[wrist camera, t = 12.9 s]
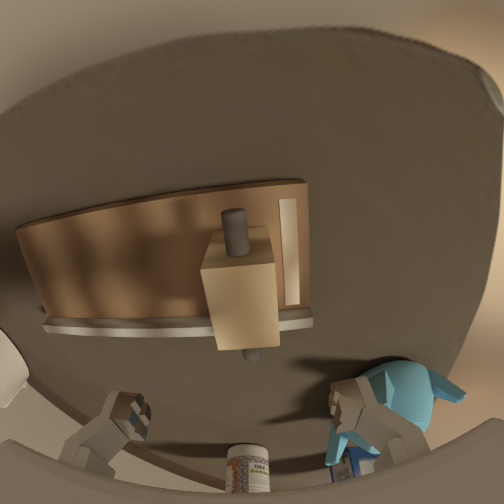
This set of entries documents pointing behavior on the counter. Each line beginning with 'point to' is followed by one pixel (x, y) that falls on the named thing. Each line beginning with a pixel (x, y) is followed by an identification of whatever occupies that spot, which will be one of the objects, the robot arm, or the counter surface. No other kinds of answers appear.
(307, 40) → the counter surface
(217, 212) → the walnut board
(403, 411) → the teapot
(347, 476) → the milk carton
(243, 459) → the bath foam
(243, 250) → the wooden block with pegs
